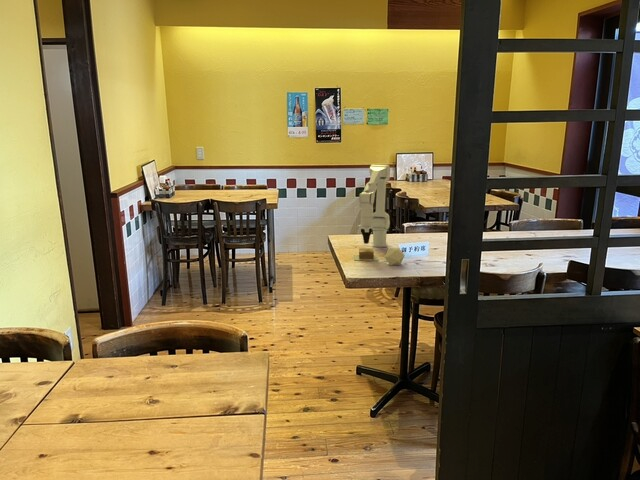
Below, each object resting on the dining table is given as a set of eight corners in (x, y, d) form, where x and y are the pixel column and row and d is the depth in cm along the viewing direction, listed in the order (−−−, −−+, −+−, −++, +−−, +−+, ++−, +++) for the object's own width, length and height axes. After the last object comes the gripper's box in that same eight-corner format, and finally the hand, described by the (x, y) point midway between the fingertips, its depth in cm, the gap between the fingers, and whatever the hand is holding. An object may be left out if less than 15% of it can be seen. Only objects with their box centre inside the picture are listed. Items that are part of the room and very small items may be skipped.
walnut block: (359, 247, 236) (359, 252, 228) (372, 248, 235) (373, 252, 228) (359, 254, 237) (359, 258, 229) (372, 254, 236) (373, 259, 228)
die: (401, 268, 215) (409, 250, 217) (385, 260, 214) (393, 242, 216) (395, 270, 223) (403, 252, 225) (379, 261, 222) (388, 244, 224)
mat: (354, 255, 236) (354, 255, 236) (377, 255, 235) (377, 255, 235) (354, 260, 227) (354, 259, 227) (378, 260, 226) (378, 260, 226)
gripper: (358, 213, 237) (357, 239, 240) (358, 219, 223) (358, 246, 226) (372, 213, 236) (371, 239, 239) (373, 219, 222) (372, 246, 225)
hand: (366, 243), depth 233 cm, fingers closed
